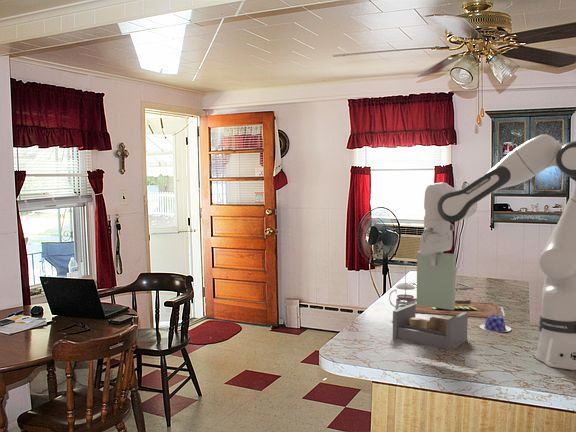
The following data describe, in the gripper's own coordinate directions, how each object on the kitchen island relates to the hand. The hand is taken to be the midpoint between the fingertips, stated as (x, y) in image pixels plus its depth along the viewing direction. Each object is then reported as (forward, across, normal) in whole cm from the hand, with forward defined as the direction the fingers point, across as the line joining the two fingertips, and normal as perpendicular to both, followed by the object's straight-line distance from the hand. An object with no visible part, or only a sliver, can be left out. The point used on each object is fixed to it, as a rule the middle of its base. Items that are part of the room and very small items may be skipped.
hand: (436, 264), depth 201 cm
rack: (+28, -4, 0) cm, 29 cm away
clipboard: (+29, +96, +39) cm, 107 cm away
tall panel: (+16, 0, 0) cm, 16 cm away
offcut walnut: (+27, -4, -4) cm, 27 cm away
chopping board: (+29, +51, +15) cm, 60 cm away
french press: (+28, +21, +24) cm, 43 cm away
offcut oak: (+27, -4, +4) cm, 27 cm away
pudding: (+29, +30, -12) cm, 43 cm away
